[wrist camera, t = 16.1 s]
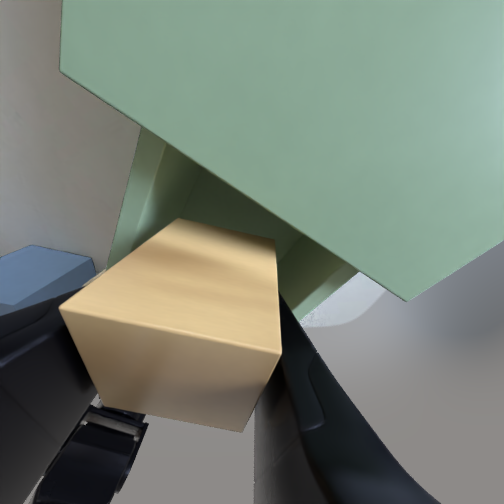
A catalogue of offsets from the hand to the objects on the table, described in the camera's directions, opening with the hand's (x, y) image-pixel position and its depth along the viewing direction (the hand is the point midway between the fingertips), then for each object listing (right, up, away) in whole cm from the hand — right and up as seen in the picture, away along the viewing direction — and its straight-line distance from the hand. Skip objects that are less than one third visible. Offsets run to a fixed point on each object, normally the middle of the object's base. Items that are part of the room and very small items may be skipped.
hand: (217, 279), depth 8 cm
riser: (-17, -1, +10) cm, 20 cm away
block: (0, 0, +1) cm, 1 cm away
